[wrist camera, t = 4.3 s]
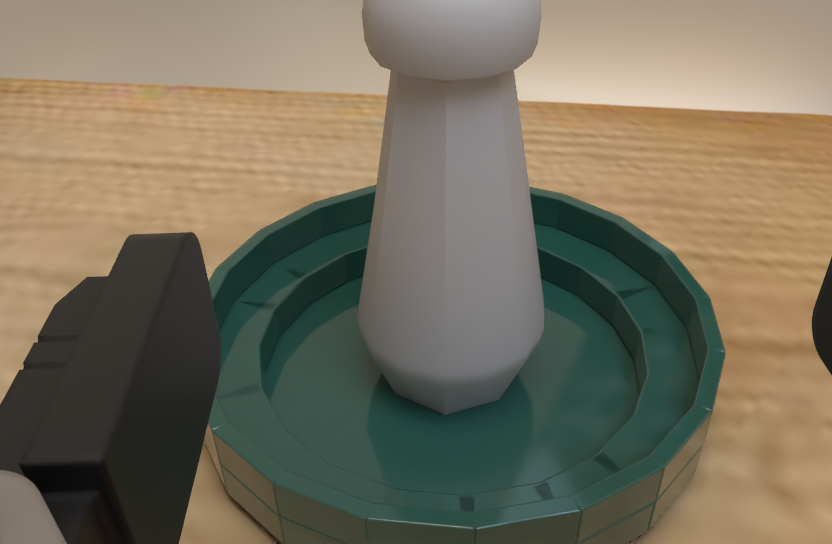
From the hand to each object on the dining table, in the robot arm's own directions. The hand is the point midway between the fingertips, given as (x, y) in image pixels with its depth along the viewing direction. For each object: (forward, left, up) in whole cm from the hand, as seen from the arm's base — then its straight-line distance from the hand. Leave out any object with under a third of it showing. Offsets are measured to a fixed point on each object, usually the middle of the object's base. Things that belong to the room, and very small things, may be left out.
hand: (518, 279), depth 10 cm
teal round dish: (-8, +8, -12) cm, 16 cm away
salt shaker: (-8, +8, -12) cm, 16 cm away
